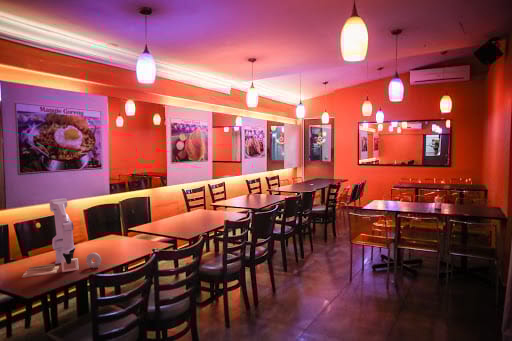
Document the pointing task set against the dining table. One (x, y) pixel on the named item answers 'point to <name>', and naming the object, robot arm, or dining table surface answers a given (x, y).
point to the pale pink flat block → (70, 265)
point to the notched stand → (40, 270)
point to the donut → (97, 258)
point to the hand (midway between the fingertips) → (69, 261)
